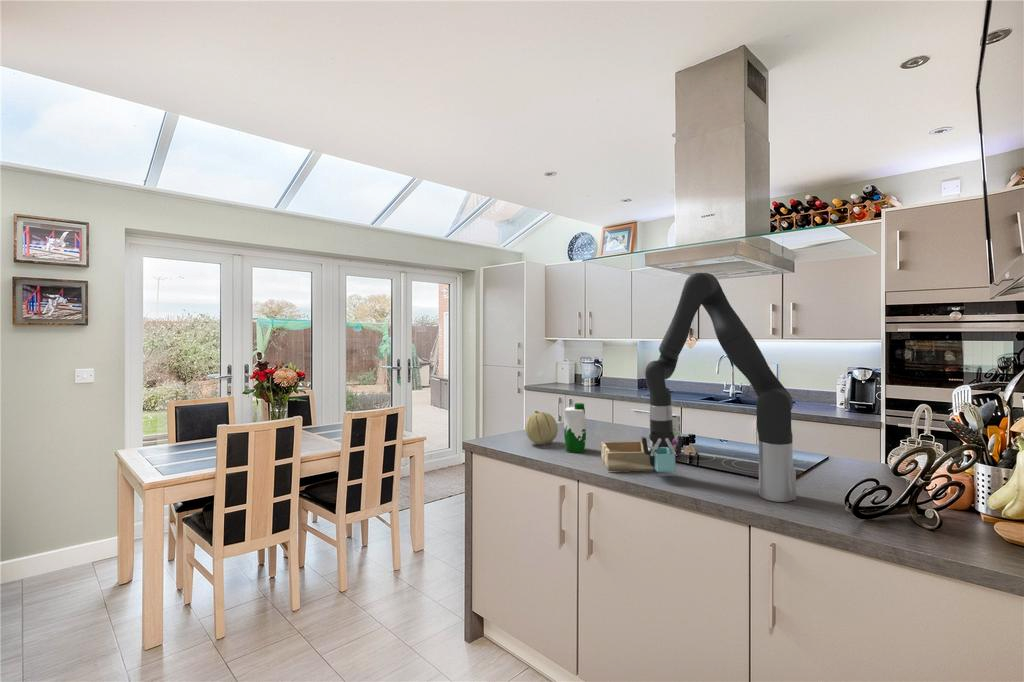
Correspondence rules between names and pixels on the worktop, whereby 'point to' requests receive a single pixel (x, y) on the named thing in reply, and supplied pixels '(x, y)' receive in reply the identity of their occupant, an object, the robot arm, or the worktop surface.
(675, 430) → the candy bar box
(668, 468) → the teal crate
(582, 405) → the milk carton
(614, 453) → the pine crate
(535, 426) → the cantaloupe
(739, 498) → the worktop surface
